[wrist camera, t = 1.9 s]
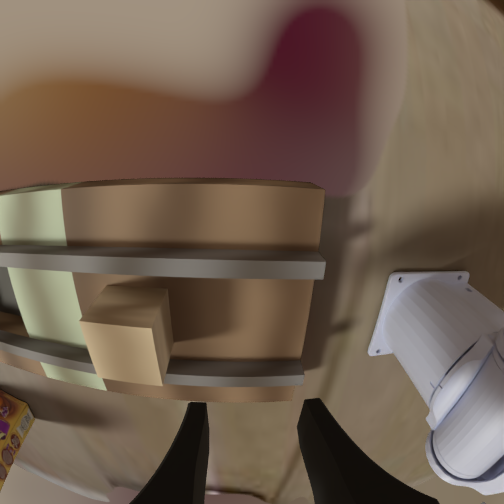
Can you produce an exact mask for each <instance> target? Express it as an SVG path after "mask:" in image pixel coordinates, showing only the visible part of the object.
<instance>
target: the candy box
mask: <svg viewBox="0 0 504 504" xmlns="http://www.w3.org/2000/svg"><path fill="white" fill-rule="evenodd" d="M34 420H35V418H34V416H33V414H32V412H31V410H30V408H29V406H28V404H27V403H25V402H23V401H20V400H18V399H16V398H15V397H13V396H11V395H9V394H7V393H5V392H4V391H2V390H0V491H1V489H2V486H3V484H4V482H5V479H6V477H7V475H8V472H9V470H10V468H11V466H12V464H13V462H14V459H15V457H16V455H17V453H18V451H19V449H20V447H21V445H22V443H23V441H24V439H25V437H26V436H27V434H28V432H29V430H30V428H31V426H32V424H33V422H34Z"/></svg>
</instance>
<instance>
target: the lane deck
mask: <svg viewBox="0 0 504 504" xmlns="http://www.w3.org/2000/svg"><path fill="white" fill-rule="evenodd" d="M324 198H325V189H323V188H321V187H319V186H317V185H315V184H313V183H310V182H296V181H280V180H262V179H234V178H147V179H121V180H104V181H88V182H75V183H64V184H54V185H44V186H36V187H27V188H20V189H13V190H6V191H0V362H3V363H5V364H8V365H11V366H14V367H17V368H20V369H23V370H26V371H29V372H32V373H35V374H39V375H42V376H46V377H49V378H53V379H57V380H61V381H65V382H69V383H73V384H77V385H82V386H86V387H91V388H96V389H101V390H106V391H112V392H118V393H124V394H131V395H138V396H145V397H154V398H163V399H174V400H187V401H204V402H275V401H292V397H293V392H294V388H295V385H302V384H303V380H304V371H303V368H302V364H301V361H300V359H301V354H302V349H303V344H304V338H305V333H306V327H307V322H308V316H309V310H310V304H311V298H312V292H313V285H314V279H323V278H324V272H325V266H326V261H325V260H324V259H323V257H322V256H321V255H320V253H319V252H318V250H319V242H320V234H321V226H322V217H323V208H324ZM106 285H110V286H126V287H144V288H165V289H168V297H169V307H170V316H171V325H172V333H173V341H174V343H173V347H172V351H171V355H170V359H169V363H168V367H167V371H166V375H165V379H164V384H163V386H155V385H146V384H138V383H131V382H123V381H117V380H111V379H105V378H99V377H98V376H97V373H96V371H95V368H94V365H93V362H92V360H91V357H90V354H89V351H88V348H87V345H86V342H85V339H84V336H83V332H82V329H81V326H80V322H79V320H80V319H81V318H82V316H83V315H84V314H85V312H86V311H87V310H88V308H89V307H90V306H91V304H92V303H93V302H94V301H95V299H96V298H97V297H98V295H99V294H100V293H101V292H102V290H103V289H104V288H105V287H106Z"/></svg>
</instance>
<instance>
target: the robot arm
mask: <svg viewBox="0 0 504 504" xmlns="http://www.w3.org/2000/svg"><path fill="white" fill-rule="evenodd" d="M469 276H470V275H469V273H468V272H467V271H438V272H393V273H392V274H391V275H390V276H389V279H388V283H387V287H386V291H385V295H384V299H383V302H382V306H381V309H380V313H379V316H378V320H377V323H376V326H375V329H374V333H373V336H372V339H371V342H370V345H369V348H368V354H369V355H370V356H376V355H383V354H390V353H394V355H395V356H396V358H397V359H398V361H399V362H400V364H401V365H402V367H403V368H404V370H405V371H406V373H407V374H408V376H409V377H410V379H411V380H412V382H413V383H414V385H415V387H416V388H417V390H418V391H419V393H420V394H421V396H422V398H423V399H424V401H425V402H426V404H427V406H428V407H429V409H430V413H429V415H428V416H427V417H426V420H427V422H428V424H429V426H430V427H431V430H430V432H429V434H428V436H427V439H426V445H425V447H426V455H427V459H428V461H429V464H430V466H431V467H432V469H433V470H434V472H435V473H436V474H437V475H438V476H439V477H440V478H441V479H443V480H444V481H446V482H448V483H450V484H453V485H458V486H467V487H471V488H473V489H475V490H477V491H478V492H480V493H481V494H483V495H491V494H496V493H501V492H504V312H503V311H502V310H501V309H500V308H499V307H497V306H496V305H495V304H494V303H492V302H491V301H490V300H489V299H487V298H486V297H485V296H484V295H482V294H481V293H480V292H478V291H477V290H476V289H474V288H473V287H472V286H470V285H469V284H468V280H469ZM400 277H401V279H400V280H399V278H400ZM398 280H399V281H398ZM378 349H379V350H378ZM377 350H378V351H377ZM297 430H298V437H299V444H300V449H301V452H302V456H303V459H304V463H305V466H306V470H307V473H308V477H309V480H310V483H311V487H312V491H313V495H314V501H315V504H439V502H438V501H437V499H435V498H432V497H430V496H428V495H425V494H423V493H420V492H419V491H417V490H415V489H413V488H411V487H409V486H407V485H406V484H404V483H403V482H401V481H399V480H398V479H396V478H395V477H393V476H392V475H390V474H389V473H387V472H386V471H385V470H383V469H382V468H381V467H380V466H378V465H377V464H376V463H375V462H374V461H373V460H371V459H370V458H369V457H368V456H367V455H366V454H365V453H364V452H363V451H362V450H361V449H360V448H359V447H358V446H357V445H356V444H355V443H354V442H353V441H352V439H351V438H350V437H349V436H348V435H347V434H346V432H345V431H344V430H343V429H342V428H341V426H340V425H339V424H338V423H337V421H336V420H335V419H334V417H333V416H332V415H331V413H330V412H329V410H328V409H327V408H326V406H325V405H324V403H323V402H322V400H321V399H320V398H315V399H305V400H304V404H303V408H302V411H301V415H300V418H299V421H298V425H297ZM208 457H209V423H208V414H207V404H206V403H203V402H190V403H188V407H187V410H186V413H185V416H184V419H183V421H182V424H181V426H180V429H179V431H178V433H177V435H176V437H175V439H174V441H173V443H172V445H171V447H170V449H169V451H168V452H167V454H166V456H165V457H164V459H163V461H162V463H161V464H160V466H159V467H158V469H157V470H156V472H155V473H154V475H153V476H152V477H151V479H150V480H149V481H148V483H147V484H146V485H145V487H144V488H143V489H142V490H141V491H140V493H139V494H138V495H137V496H136V497H135V498H134V500H132V501H131V502H130V503H129V504H204V495H205V485H206V476H207V466H208ZM481 504H486V503H485V502H483V503H481Z"/></svg>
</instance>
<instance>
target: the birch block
mask: <svg viewBox="0 0 504 504" xmlns="http://www.w3.org/2000/svg"><path fill="white" fill-rule="evenodd" d="M79 322H80V326H81V329H82V332H83V336H84V339H85V342H86V345H87V348H88V351H89V354H90V357H91V360H92V362H93V365H94V368H95V371H96V373H97V376H98V377H99V378H105V379H111V380H117V381H123V382H131V383H138V384H146V385H155V386H163V384H164V379H165V375H166V371H167V367H168V363H169V359H170V355H171V351H172V347H173V343H174V341H173V333H172V325H171V316H170V307H169V297H168V289H165V288H144V287H126V286H110V285H106V287H105V288H104V289H103V290H102V292H101V293H100V294H99V295H98V297H97V298H96V299H95V301H94V302H93V303H92V304H91V306H90V307H89V308H88V310H87V311H86V312H85V314H84V315H83V316H82V318H81V319H80V320H79Z"/></svg>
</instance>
